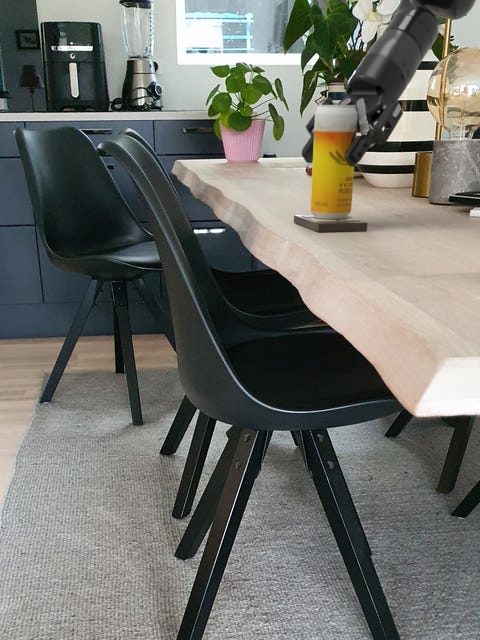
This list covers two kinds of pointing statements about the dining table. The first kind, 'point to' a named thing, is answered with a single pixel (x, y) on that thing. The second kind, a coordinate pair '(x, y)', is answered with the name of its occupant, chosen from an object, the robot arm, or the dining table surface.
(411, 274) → the dining table surface
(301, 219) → the grey grid tile
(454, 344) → the dining table surface
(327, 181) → the beer can
